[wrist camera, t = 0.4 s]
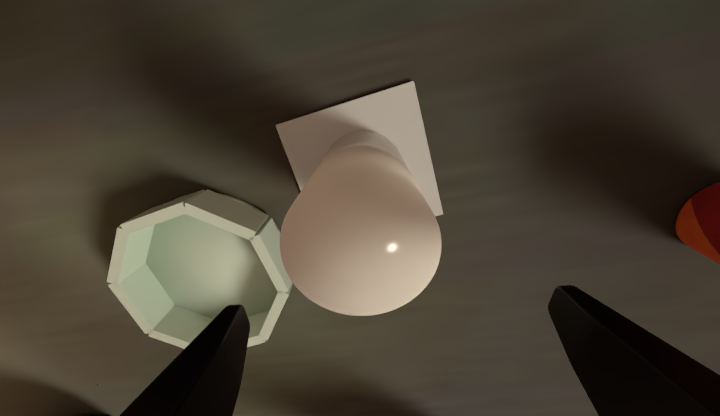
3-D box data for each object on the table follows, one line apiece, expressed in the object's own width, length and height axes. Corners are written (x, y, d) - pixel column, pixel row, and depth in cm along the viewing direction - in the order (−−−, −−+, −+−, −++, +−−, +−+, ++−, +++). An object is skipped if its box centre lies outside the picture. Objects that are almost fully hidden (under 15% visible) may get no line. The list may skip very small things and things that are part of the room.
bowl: (265, 339, 29) (252, 372, 25) (132, 290, 27) (99, 319, 24) (316, 231, 25) (308, 253, 21) (162, 165, 23) (126, 178, 20)
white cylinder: (381, 221, 24) (394, 335, 13) (310, 190, 23) (258, 282, 12) (418, 152, 22) (473, 215, 11) (342, 115, 21) (316, 141, 10)
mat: (442, 212, 24) (443, 214, 24) (322, 244, 25) (322, 246, 25) (413, 80, 20) (413, 80, 20) (276, 124, 22) (275, 125, 21)
